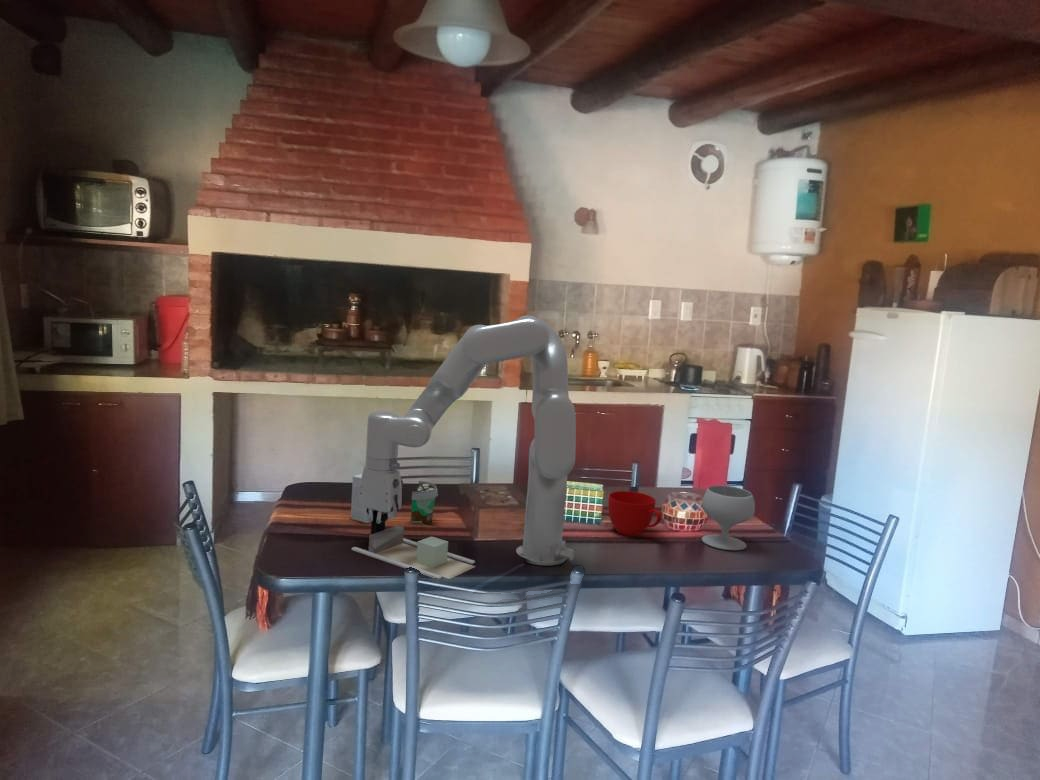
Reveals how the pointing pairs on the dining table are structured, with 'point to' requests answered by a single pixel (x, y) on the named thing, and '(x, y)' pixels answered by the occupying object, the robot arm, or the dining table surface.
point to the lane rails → (409, 565)
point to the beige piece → (410, 553)
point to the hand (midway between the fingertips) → (377, 536)
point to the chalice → (727, 514)
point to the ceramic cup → (632, 512)
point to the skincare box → (357, 502)
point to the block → (432, 552)
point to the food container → (423, 503)
